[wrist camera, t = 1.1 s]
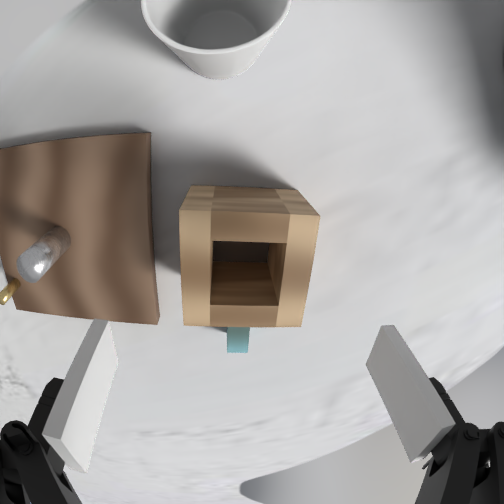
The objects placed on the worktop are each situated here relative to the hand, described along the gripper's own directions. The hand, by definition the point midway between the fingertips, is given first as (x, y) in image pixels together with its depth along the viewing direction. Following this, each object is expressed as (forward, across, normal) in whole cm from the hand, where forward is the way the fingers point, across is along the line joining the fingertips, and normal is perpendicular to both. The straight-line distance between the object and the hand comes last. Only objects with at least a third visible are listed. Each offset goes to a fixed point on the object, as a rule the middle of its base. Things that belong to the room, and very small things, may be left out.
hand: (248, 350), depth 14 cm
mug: (+15, -2, +18) cm, 23 cm away
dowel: (+13, -24, -6) cm, 28 cm away
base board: (+15, -17, -1) cm, 22 cm away
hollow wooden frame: (+15, +1, -4) cm, 15 cm away
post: (+13, -17, -1) cm, 21 cm away
